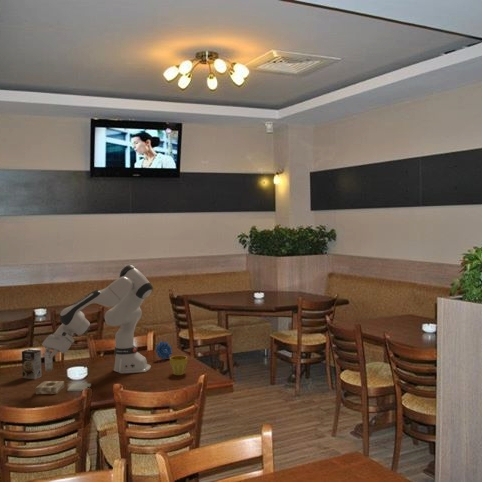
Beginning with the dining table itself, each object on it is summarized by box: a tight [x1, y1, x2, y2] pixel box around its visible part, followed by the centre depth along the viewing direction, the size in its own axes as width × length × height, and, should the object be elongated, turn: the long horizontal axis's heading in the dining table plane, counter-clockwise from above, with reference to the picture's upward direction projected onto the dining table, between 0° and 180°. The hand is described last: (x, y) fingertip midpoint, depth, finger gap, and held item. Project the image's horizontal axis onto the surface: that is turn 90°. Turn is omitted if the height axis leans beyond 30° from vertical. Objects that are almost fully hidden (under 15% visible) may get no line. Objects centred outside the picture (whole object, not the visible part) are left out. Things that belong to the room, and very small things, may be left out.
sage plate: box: [67, 383, 92, 392], centre depth 323 cm, size 10×10×1 cm
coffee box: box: [21, 348, 42, 380], centre depth 346 cm, size 9×6×16 cm
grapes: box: [155, 341, 173, 360], centre depth 379 cm, size 12×7×12 cm, turn 119°
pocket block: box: [35, 380, 65, 395], centre depth 320 cm, size 11×11×4 cm
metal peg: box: [43, 350, 54, 372], centre depth 320 cm, size 4×4×10 cm
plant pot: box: [169, 355, 188, 376], centre depth 346 cm, size 10×10×10 cm
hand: (47, 356), depth 319 cm, fingers closed on metal peg, 4 cm apart
